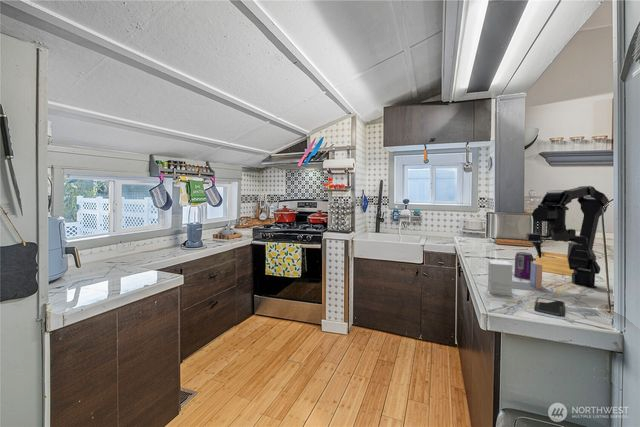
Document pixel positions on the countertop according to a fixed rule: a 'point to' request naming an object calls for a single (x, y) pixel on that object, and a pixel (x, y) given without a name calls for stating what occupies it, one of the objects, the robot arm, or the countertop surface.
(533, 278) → the tile
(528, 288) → the mat
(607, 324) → the countertop surface
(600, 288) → the countertop surface
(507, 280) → the supplement box
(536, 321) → the countertop surface
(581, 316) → the countertop surface
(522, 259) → the beverage can
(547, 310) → the phone
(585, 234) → the robot arm
